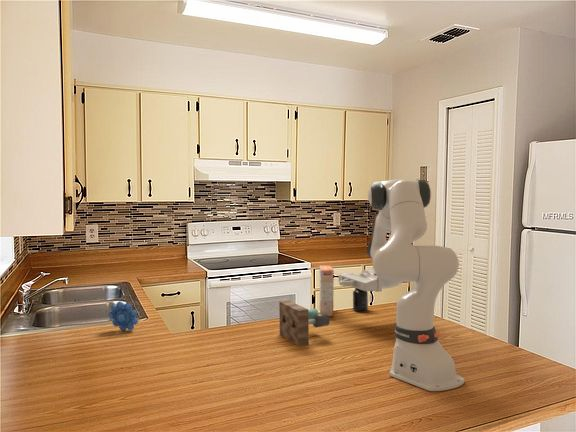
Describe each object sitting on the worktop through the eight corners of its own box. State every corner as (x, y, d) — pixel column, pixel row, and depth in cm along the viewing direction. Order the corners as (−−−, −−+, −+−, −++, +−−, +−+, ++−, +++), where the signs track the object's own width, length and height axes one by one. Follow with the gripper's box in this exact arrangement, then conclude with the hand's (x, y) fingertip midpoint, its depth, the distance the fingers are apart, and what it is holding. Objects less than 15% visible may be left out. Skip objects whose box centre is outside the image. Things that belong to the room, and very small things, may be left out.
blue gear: (105, 334, 186) (104, 304, 186) (111, 329, 193) (110, 300, 192) (134, 333, 186) (134, 303, 186) (140, 328, 193) (139, 299, 192)
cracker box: (334, 316, 208) (334, 270, 207) (320, 316, 208) (320, 270, 207) (332, 308, 222) (331, 264, 221) (319, 308, 222) (319, 264, 221)
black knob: (329, 326, 177) (329, 314, 177) (299, 331, 171) (299, 319, 171) (323, 323, 181) (323, 312, 181) (293, 328, 175) (293, 316, 175)
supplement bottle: (367, 308, 222) (367, 283, 221) (368, 312, 215) (368, 286, 215) (352, 308, 223) (352, 283, 222) (353, 312, 216) (353, 286, 215)
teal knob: (318, 321, 184) (318, 310, 184) (289, 326, 178) (289, 314, 178) (312, 318, 188) (312, 307, 188) (283, 323, 182) (283, 311, 182)
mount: (308, 344, 171) (308, 309, 170) (298, 346, 169) (298, 310, 169) (288, 332, 185) (288, 300, 185) (279, 334, 184) (279, 301, 183)
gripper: (354, 268, 206) (327, 271, 200) (384, 276, 188) (355, 280, 182) (354, 282, 207) (327, 286, 201) (384, 292, 188) (355, 296, 182)
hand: (341, 283), depth 191 cm, fingers closed
